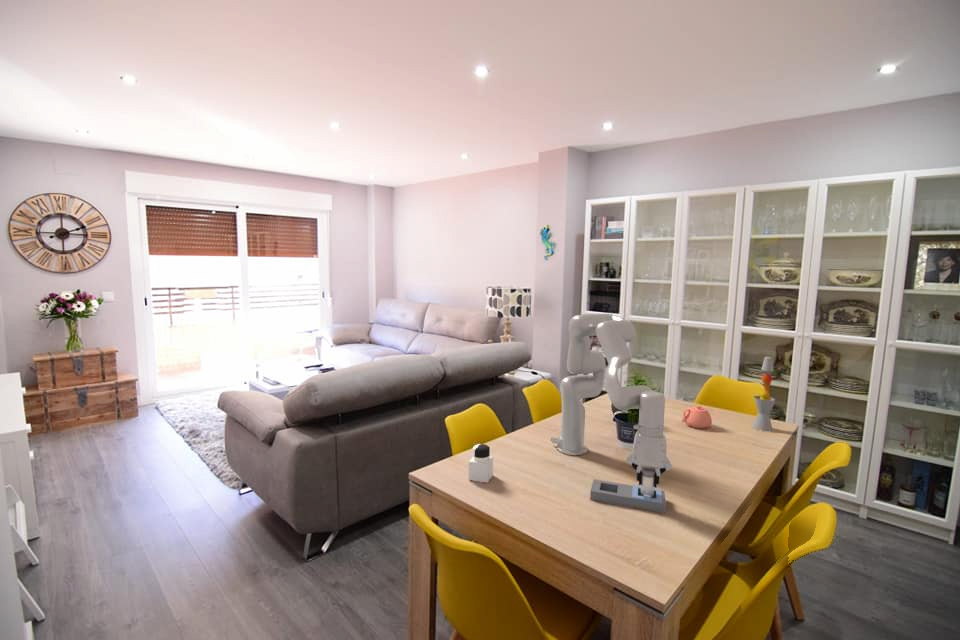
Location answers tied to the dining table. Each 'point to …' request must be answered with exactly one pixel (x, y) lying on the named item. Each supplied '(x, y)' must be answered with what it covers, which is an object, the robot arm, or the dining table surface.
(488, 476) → the medicine bottle
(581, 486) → the dining table surface
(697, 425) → the pink rounded piece
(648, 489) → the plug
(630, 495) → the grey slotted holder
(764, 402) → the lava lamp
